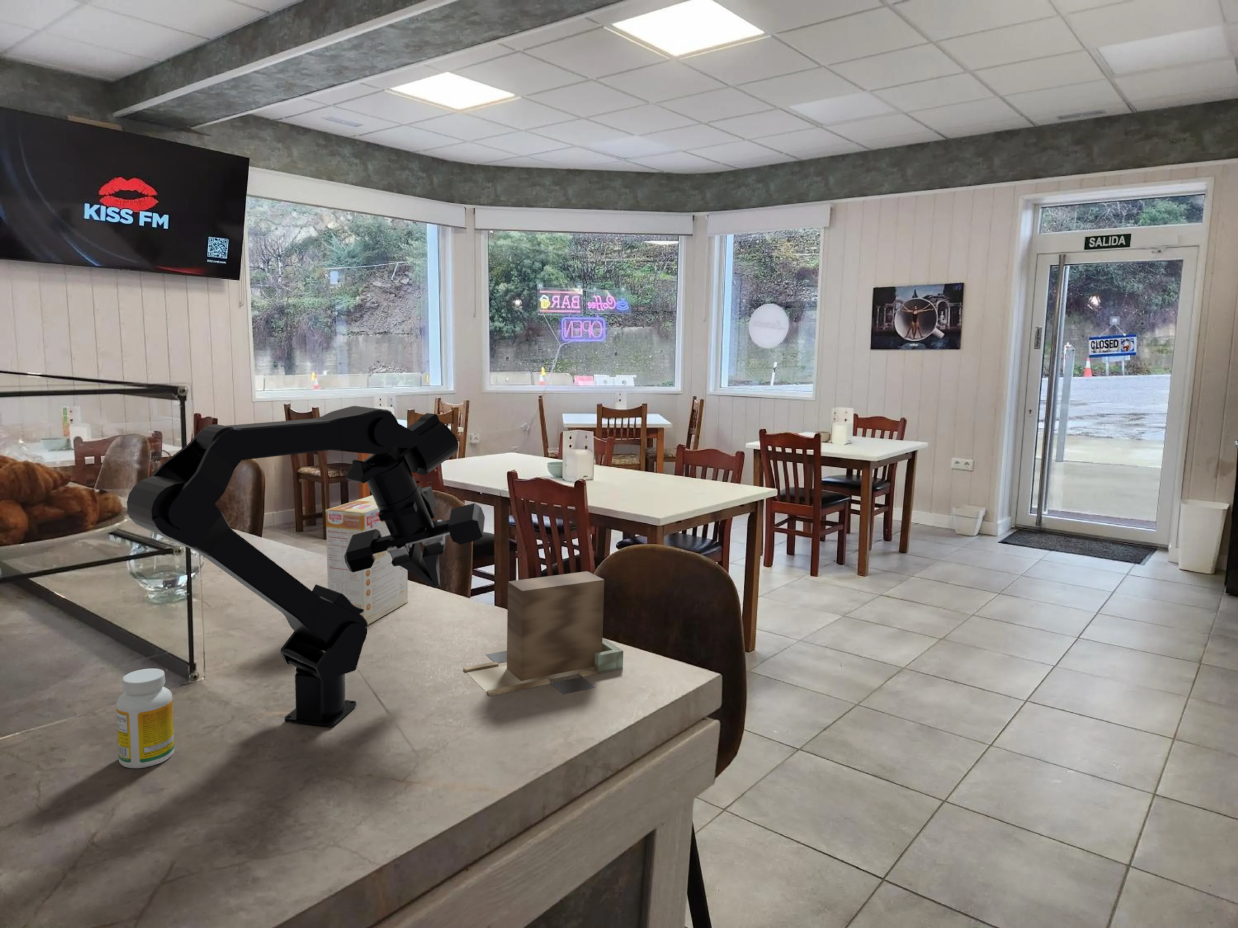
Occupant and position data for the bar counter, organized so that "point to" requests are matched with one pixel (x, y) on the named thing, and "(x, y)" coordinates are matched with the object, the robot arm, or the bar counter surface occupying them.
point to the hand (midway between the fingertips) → (437, 585)
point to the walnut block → (554, 624)
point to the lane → (505, 681)
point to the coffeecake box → (371, 586)
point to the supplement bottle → (144, 719)
